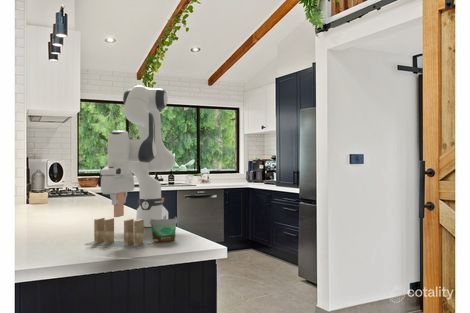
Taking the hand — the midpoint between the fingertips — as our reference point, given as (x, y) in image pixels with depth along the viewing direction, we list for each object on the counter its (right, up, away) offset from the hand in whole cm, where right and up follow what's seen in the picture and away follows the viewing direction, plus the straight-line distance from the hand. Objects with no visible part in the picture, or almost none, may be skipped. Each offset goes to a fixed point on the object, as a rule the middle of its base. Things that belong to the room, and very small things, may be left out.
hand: (118, 203), depth 169 cm
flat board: (0, -17, 0) cm, 17 cm away
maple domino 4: (+9, -16, -2) cm, 19 cm away
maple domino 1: (-9, -16, +2) cm, 19 cm away
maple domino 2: (-4, -16, +1) cm, 17 cm away
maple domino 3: (+4, -16, -1) cm, 17 cm away
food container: (+19, -17, +5) cm, 26 cm away
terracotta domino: (0, -5, 0) cm, 5 cm away
